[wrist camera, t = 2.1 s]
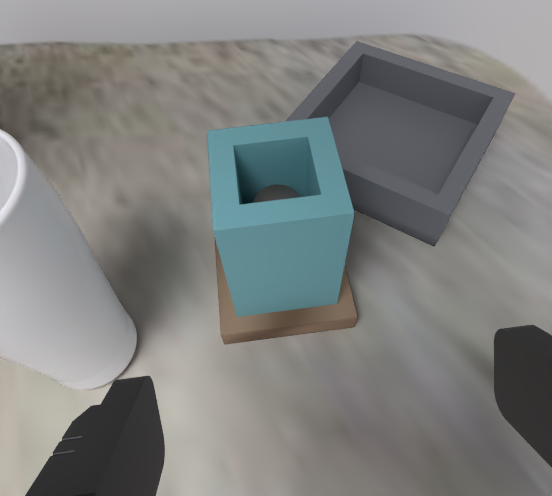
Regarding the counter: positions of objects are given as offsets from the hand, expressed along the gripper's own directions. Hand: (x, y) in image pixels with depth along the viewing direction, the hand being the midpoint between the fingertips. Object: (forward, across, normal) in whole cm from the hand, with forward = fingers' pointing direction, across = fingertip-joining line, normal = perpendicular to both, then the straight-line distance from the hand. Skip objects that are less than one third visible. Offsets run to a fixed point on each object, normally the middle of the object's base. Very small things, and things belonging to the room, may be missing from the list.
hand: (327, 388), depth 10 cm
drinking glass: (+17, +12, +5) cm, 21 cm away
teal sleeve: (+18, 0, +2) cm, 18 cm away
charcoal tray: (+26, -10, -4) cm, 28 cm away
